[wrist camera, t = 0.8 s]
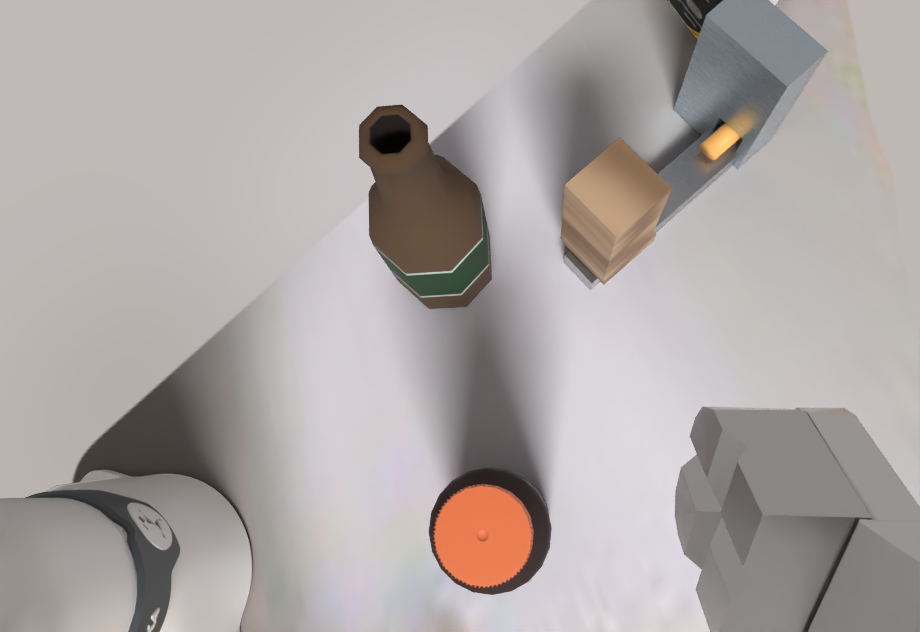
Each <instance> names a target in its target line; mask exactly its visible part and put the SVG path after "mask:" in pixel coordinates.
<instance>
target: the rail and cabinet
mask: <svg viewBox="0 0 920 632" xmlns="http://www.w3.org/2000/svg"><path fill="white" fill-rule="evenodd" d="M827 52H828V51H827V50H826V49H825V48H824V47H823V46H821V45H820V44H819V43H818V42H817V41H816V40H814V39H813V38H812V37H811V36H810V35H809V34H807V33H806V32H805V31H804V30H803V29H802V28H801V27H799V26H798V25H797V24H796V23H795V22H794V21H792V20H791V19H790V18H789V17H788V16H787V15H785V14H784V13H783V12H782V11H781V10H780V9H778V8H777V7H776V6H775V5H774V4H773V3H771V2H770V1H769V0H723V1H722V2H721V3H719V4H718V5H717V6H716V7H715V8H714V9H712V10H711V11H710V12H709V13H708V14H707V15H706V17H705V20H704V23H703V26H702V29H701V31H700V34H699V37H698V40H697V43H696V46H695V49H694V52H693V55H692V58H691V61H690V63H689V66H688V69H687V72H686V75H685V78H684V81H683V84H682V87H681V90H680V92H679V95H678V98H677V101H676V104H675V107H674V110H675V111H676V112H677V113H678V114H679V115H680V116H681V117H682V118H683V119H684V120H685V121H686V122H687V123H689V124H690V125H691V126H692V127H693V128H694V129H695V130H696V131H697V132H698V133H699V134H700V135H701V136H700V137H699V138H698V139H697V140H696V141H695V142H693V143H692V144H691V145H690V146H689V147H688V148H687V149H685V150H684V151H683V152H682V153H681V154H680V155H679V156H677V157H676V158H675V159H674V160H673V161H672V162H670V163H669V164H668V165H667V166H666V167H665V168H664V169H662V170H661V171H660V172H659V173H658V175H659V176H660V177H661V178H662V179H663V180H664V181H665V182H666V183H667V184H668V185H669V186H670V187H672V190H671V192H670V194H669V197H668V200H667V202H666V205H665V206H664V208H663V211H662V213H661V215H660V218H659V220H658V222H657V225H656V227H655V229H654V233H656V232H657V231H658V230H659V229H660V228H661V227H663V226H664V225H665V224H666V223H667V222H668V221H669V220H671V219H672V218H673V217H674V216H675V215H676V214H677V213H679V212H680V211H681V210H682V209H683V208H684V207H685V206H686V205H688V204H689V203H690V202H691V201H692V200H693V199H694V198H696V197H697V196H698V195H699V194H700V193H701V192H702V191H704V190H705V189H706V188H707V187H708V186H709V185H710V184H712V183H713V182H714V181H715V180H716V179H717V178H718V177H719V176H721V175H722V174H723V173H724V172H725V171H726V170H727V169H729V168H730V167H731V166H732V165H733V166H734V167H736V168H737V169H738V168H739V167H740V166H742V165H743V164H744V163H745V162H746V161H747V160H748V159H750V158H751V157H752V156H753V155H754V154H755V153H756V152H758V151H759V150H760V149H761V148H762V147H763V146H764V145H766V144H767V143H768V142H769V141H770V140H771V138H772V137H773V135H774V134H775V132H776V131H777V129H778V127H779V126H780V124H781V123H782V121H783V120H784V118H785V117H786V115H787V114H788V112H789V111H790V109H791V107H792V106H793V104H794V103H795V101H796V100H797V98H798V97H799V95H800V94H801V92H802V91H803V89H804V88H805V86H806V84H807V83H808V81H809V80H810V78H811V77H812V75H813V74H814V72H815V71H816V69H817V68H818V66H819V64H820V63H821V61H822V60H823V58H824V57H825V55H826V54H827ZM724 123H726V124H727V125H728V126H729V127H730V128H732V129H733V130H734V131H735V132H736V133H737V134H738V135H739V136H740V137H741V138H740V139H739V140H737V141H736V142H735V143H734V144H733V145H732V146H731V147H729V148H728V149H727V150H726V151H725V152H724V153H723V154H721V155H720V156H719V157H718V158H717V159H716V160H711V159H709V158H708V157H706V156H705V155H704V153H703V152H702V150H701V148H700V145H701V143H703V142H704V141H705V140H706V139H707V138H708V137H709V136H711V135H712V134H713V133H714V132H715V131H716V130H718V129H719V128H720V127H721V126H722V125H723V124H724ZM564 263H565V264H566V265H567V266H568V267H569V268H570V269H571V270H572V271H573V272H574V273H575V274H576V275H577V277H578V278H579V279H580V280H581V281H582V282H583V283H584V284H585V285H586V286H587V287H588V288H589V289H590V290H591V289H592V288H593V287H594V286H595V285H597V284H598V283H599V282H600V280H599V279H598V278H597V277H596V276H595V275H594V274H593V273H592V272H591V271H590V270H589V269H588V268H587V267H586V266H585V265H584V264H583V263H582V262H581V261H580V260H579V259H578V258H577V257H576V255H575V254H574V253H573V252H572V251H571V250H570V251H568V252H567V253H566V254H565V256H564Z"/></svg>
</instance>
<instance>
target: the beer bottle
mask: <svg viewBox="0 0 920 632" xmlns="http://www.w3.org/2000/svg"><path fill="white" fill-rule="evenodd" d="M359 158H360V159H362V160H363V161H364V162H365V163H366V164H367V165H368V166H370V168H371V170H372V173H373V176H374V179H375V181H376V182H375V183H374V184H373V185H372V187H371V189H370V191H369V236H370V238H371V241H372V243H373V245H374V247H375V248H376V250H377V251H378V253H379V254H380V255H381V257H382V258H383V260H384V261H385V263H386V264H387V266H388V267H389V268H390V270H391V271H392V273H393V274H394V276H395V277H396V278H397V280H398V281H399V282H400V283H401V284H402V285H403V286H404V287H405V288H406V289H408V290H409V291H410V292H411V293H412V294H413V295H414V296H415V297H417V298H418V299H419V300H420V301H421V302H422V303H423V304H424V305H426V306H427V307H428V308H429V309H435V308H452V307H466V306H467V305H468V304H469V303H470V302H471V301H472V300H473V299H474V298H475V297H476V296H477V295H478V293H479V292H480V291H481V290H482V289H483V288H484V287H485V286H486V285H487V284H488V283H489V282H490V280H491V257H490V237H489V232H488V227H487V222H486V217H485V213H484V208H483V203H482V199H481V194H480V192H479V190H478V187H477V185H476V184H475V183H474V182H472V181H471V180H470V179H469V178H468V177H466V176H465V175H464V174H463V173H462V172H460V171H459V170H458V169H457V168H456V167H454V166H453V165H452V164H451V163H450V162H448V161H447V160H446V159H445V158H444V157H441V156H438V155H434V154H433V152H432V150H431V147H430V145H429V143H428V128H427V125H426V124H425V123H424V122H423V121H421V120H420V119H419V118H418V117H417V116H415V115H414V114H413V113H412V112H411V111H409V110H408V109H407V108H406V107H404V106H403V105H393V106H381V107H377V108H376V109H375V110H374V111H373V112H372V113H371V114H370V115H369V116H368V117H367V118H366V119H365V120H364V121H363V122H362V123H361V124H360V126H359Z"/></svg>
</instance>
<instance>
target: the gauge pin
mask: <svg viewBox="0 0 920 632" xmlns="http://www.w3.org/2000/svg"><path fill="white" fill-rule="evenodd" d="M740 138H741V137H740V136H739V135H738V134H737V133H736V132H735V131H734V130H733V129H732V128H730V127H729V126H728V125H727V124H726V123H724V124H723V125H722V126H721V127H720V128H719V129H718V130H716V131H715V132H714V133H713V134H712V135H711V136H709V137H708V138H707V139H706V140H705V141H704V142H703V143H701V145H700V148H701V150H702V152H703V153H704V155H705V156H706V157H708V158H709V159H711V160H716V159H717V158H718V157H719V156H720V155H721V154H723V153H724V152H725V151H726V150H727V149H728V148H729V147H731V146H732V145H733V144H734V143H735V142H736V141H737V140H739V139H740Z"/></svg>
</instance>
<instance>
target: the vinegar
mask: <svg viewBox="0 0 920 632" xmlns="http://www.w3.org/2000/svg"><path fill="white" fill-rule="evenodd" d="M429 536H430V542H431V547H432V552H433V554H434V556H435V558H436V560H437V562H438V564H439V566H440V567H441V569H442V570H443V571H444V572H445V573H446V574H447V575H448V576H449V577H450V578H451V579H452V580H453V581H454V582H455V583H456V584H458V585H460V586H462V587H464V588H466V589H468V590H470V591H472V592H476V593H483V594H490V595H494V594H499V593H504V592H509V591H513V590H514V589H516V588H518V587H520V586H521V585H523V584H525V583H527V582H528V581H529V580H530V579H531V578H532V577H533V576H534V575H535V574H536V572H537V571H538V570H539V569H540V568H541V567H542V565H543V562H544V560H545V558H546V555H547V553H548V551H549V548H550V538H551V524H550V519H549V514H548V510H547V505H546V503H545V501H544V499H543V498H542V496H541V494H540V492H539V491H538V490H537V489H536V488H535V487H534V486H533V485H532V484H531V483H530V482H529V481H527V480H526V479H524V478H522V477H520V476H518V475H516V474H513V473H511V472H509V471H507V470H502V469H494V468H483V469H478V470H473V471H468V472H467V473H465V474H463V475H461V476H460V477H458V478H456V479H454V480H453V481H452V482H451V483H450V484H449V485H448V486H447V487H446V488H445V489H444V490H443V492H442V493H441V494H440V495H439V497H438V499H437V501H436V503H435V506H434V508H433V510H432V512H431V519H430V527H429Z"/></svg>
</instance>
